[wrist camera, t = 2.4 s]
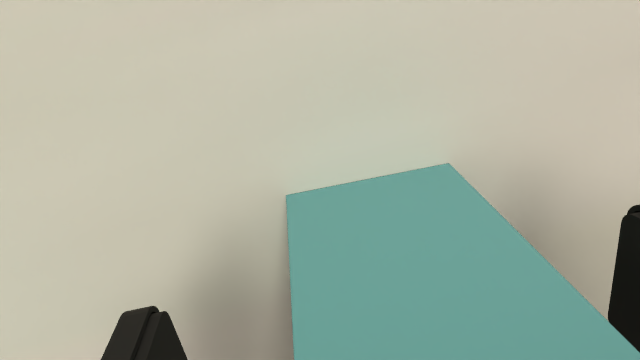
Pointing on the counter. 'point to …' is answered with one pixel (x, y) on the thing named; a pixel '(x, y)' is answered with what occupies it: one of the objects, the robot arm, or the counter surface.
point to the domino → (429, 278)
